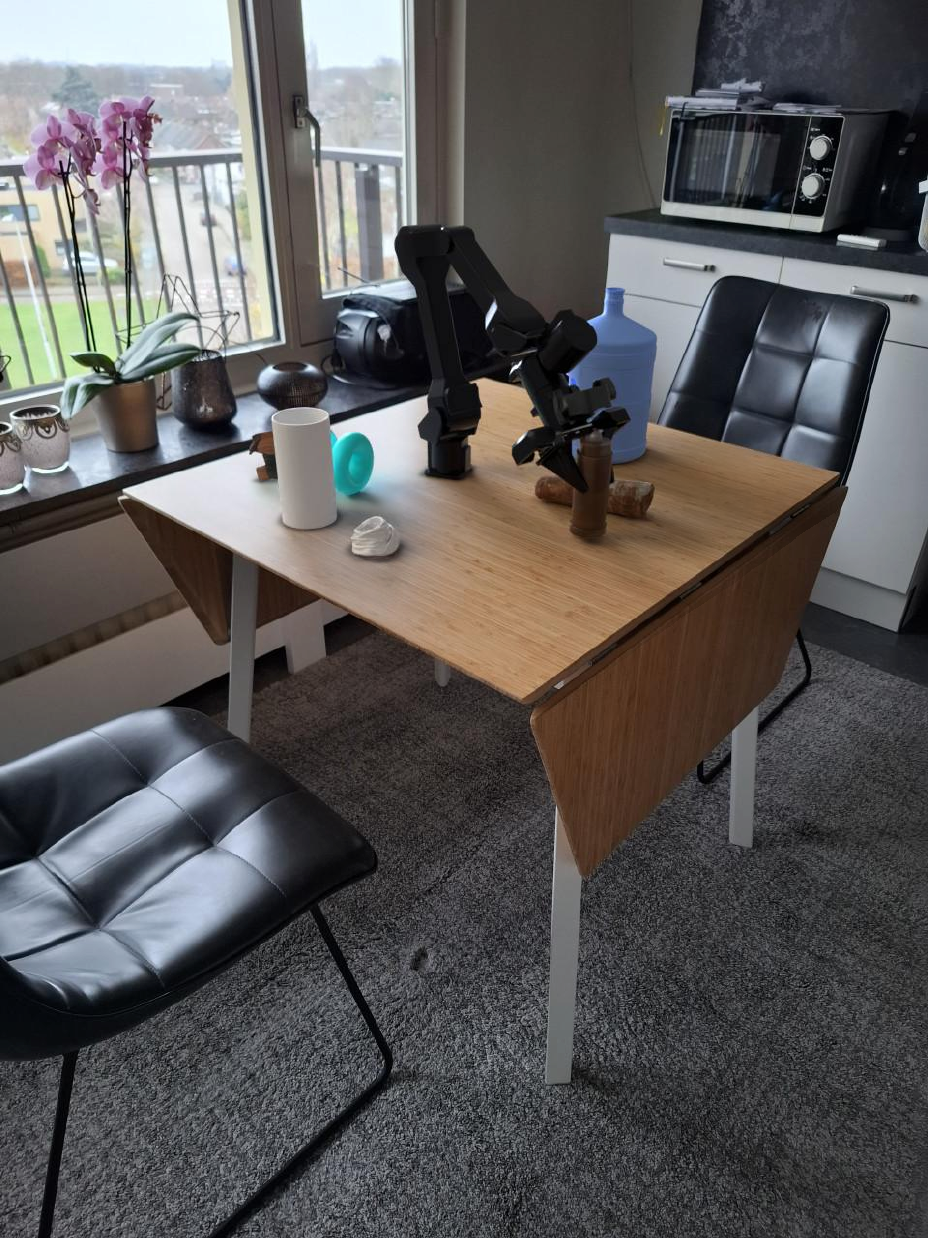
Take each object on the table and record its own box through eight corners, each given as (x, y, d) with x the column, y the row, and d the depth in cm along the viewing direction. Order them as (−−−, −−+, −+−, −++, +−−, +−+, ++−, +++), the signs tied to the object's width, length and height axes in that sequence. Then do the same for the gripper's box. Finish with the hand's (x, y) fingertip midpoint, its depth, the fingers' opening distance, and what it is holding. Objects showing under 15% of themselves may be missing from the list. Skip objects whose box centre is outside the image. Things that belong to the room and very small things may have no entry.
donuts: (343, 505, 139) (339, 444, 134) (293, 492, 143) (287, 433, 138) (379, 484, 146) (376, 425, 141) (330, 473, 151) (325, 416, 146)
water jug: (658, 445, 163) (677, 286, 148) (623, 472, 151) (640, 302, 137) (581, 431, 170) (592, 277, 155) (543, 455, 158) (551, 291, 144)
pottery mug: (240, 483, 148) (235, 434, 148) (271, 489, 156) (266, 442, 156) (303, 472, 144) (298, 422, 143) (331, 478, 152) (326, 431, 152)
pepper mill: (572, 538, 126) (580, 438, 118) (566, 522, 130) (573, 425, 123) (609, 538, 126) (619, 437, 118) (602, 522, 131) (611, 424, 123)
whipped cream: (389, 569, 122) (390, 539, 119) (342, 561, 123) (342, 531, 120) (403, 541, 128) (404, 511, 126) (358, 533, 129) (359, 504, 126)
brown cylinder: (645, 525, 133) (650, 491, 130) (529, 503, 140) (530, 470, 137) (657, 510, 137) (661, 476, 135) (543, 489, 145) (545, 457, 142)
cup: (346, 511, 137) (338, 410, 129) (321, 532, 130) (312, 427, 122) (298, 504, 139) (288, 404, 131) (272, 525, 132) (260, 421, 124)
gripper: (528, 371, 114) (583, 477, 112) (628, 349, 124) (679, 446, 122) (488, 415, 123) (538, 513, 121) (584, 391, 133) (630, 482, 131)
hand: (598, 487), depth 124 cm, fingers closed on pepper mill, 5 cm apart
